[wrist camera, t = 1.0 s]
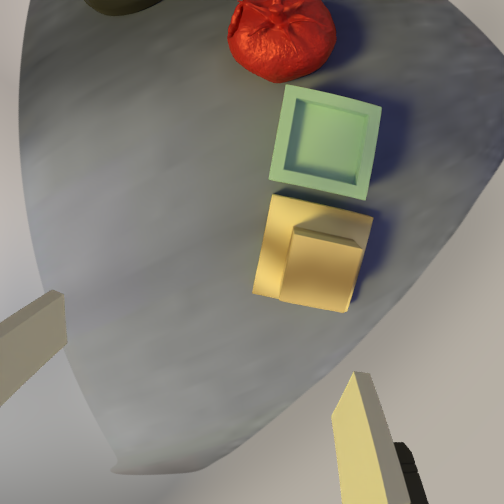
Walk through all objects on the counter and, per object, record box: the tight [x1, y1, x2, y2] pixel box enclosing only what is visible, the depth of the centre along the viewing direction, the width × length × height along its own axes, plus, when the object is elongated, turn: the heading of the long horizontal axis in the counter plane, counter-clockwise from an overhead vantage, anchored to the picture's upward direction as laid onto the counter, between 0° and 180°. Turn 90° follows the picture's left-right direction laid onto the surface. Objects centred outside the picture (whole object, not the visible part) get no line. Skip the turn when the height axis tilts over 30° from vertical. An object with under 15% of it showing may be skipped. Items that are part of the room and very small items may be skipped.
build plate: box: [252, 194, 373, 313], centre depth 29 cm, size 10×10×6 cm
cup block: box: [268, 84, 382, 200], centre depth 26 cm, size 8×8×6 cm
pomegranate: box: [227, 0, 337, 83], centre depth 22 cm, size 10×10×9 cm
